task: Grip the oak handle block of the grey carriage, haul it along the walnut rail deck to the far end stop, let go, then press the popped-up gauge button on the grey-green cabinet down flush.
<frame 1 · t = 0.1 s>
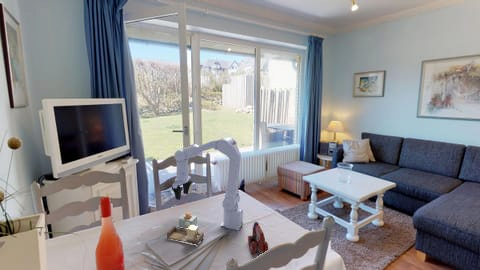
hand: (182, 196, 123), 10 cm above the table, fingers open, 7 cm apart
toy fire truck: (257, 248, 99), on the table
gauge button: (187, 216, 111), point 5 cm above the table, slide at 0.0 cm
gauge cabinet: (187, 226, 112), on the table
rail deck: (185, 239, 103), on the table
carriage: (192, 233, 100), point 4 cm above the table, slide at -4.0 cm
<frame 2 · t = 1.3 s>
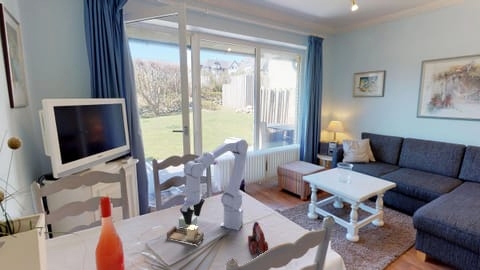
hand: (192, 219, 99), 10 cm above the table, fingers open, 7 cm apart
nothing on the table moved.
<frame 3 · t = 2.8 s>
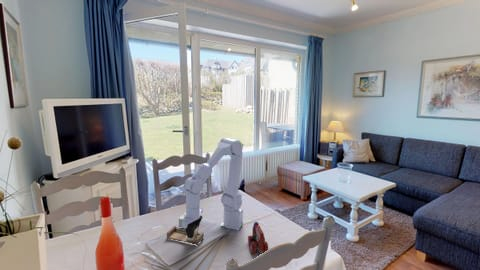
hand: (192, 234, 100), 3 cm above the table, fingers closed on carriage, 4 cm apart
carriage: (192, 233, 100), point 4 cm above the table, slide at -4.0 cm, touching gripper
everything else where it was.
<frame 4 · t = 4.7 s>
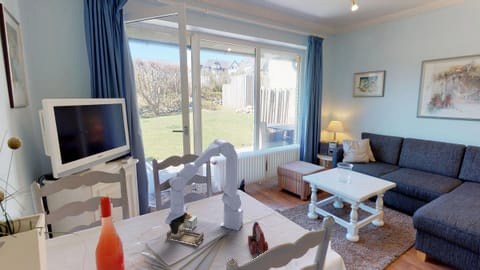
hand: (177, 231, 102), 3 cm above the table, fingers closed on carriage, 4 cm apart
carriage: (177, 229, 102), point 4 cm above the table, slide at 3.5 cm, touching gripper
everything else where it was.
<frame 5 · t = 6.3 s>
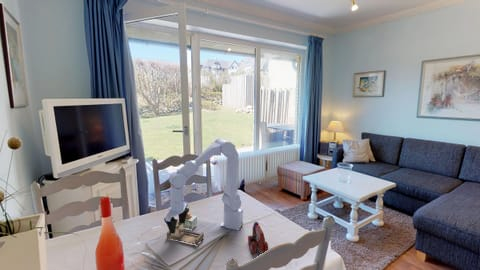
hand: (177, 228, 102), 5 cm above the table, fingers open, 7 cm apart
carriage: (177, 229, 102), point 4 cm above the table, slide at 3.5 cm
everything else where it was.
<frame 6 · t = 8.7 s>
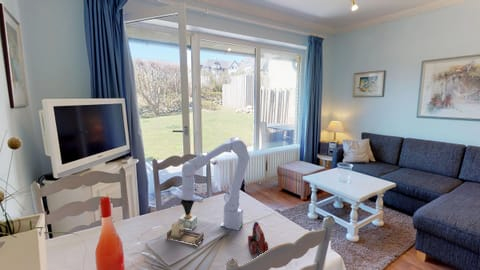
hand: (187, 213, 111), 7 cm above the table, fingers closed, pressing on gauge button
gauge button: (187, 216, 111), point 5 cm above the table, slide at -0.2 cm, touching gripper
everything else where it was.
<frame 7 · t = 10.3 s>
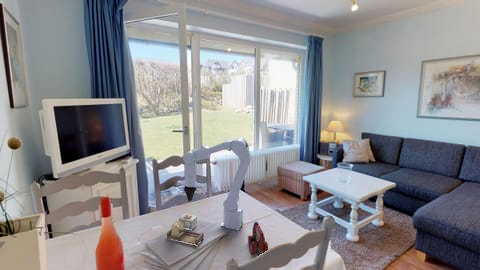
hand: (190, 200, 118), 10 cm above the table, fingers closed
gauge button: (187, 219, 112), point 4 cm above the table, slide at -1.6 cm
everything else where it was.
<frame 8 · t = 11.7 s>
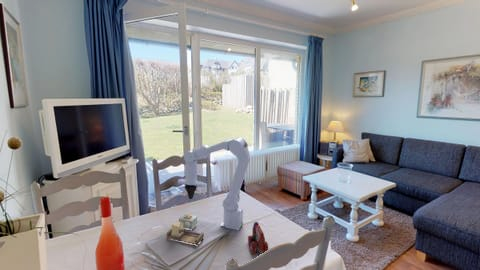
hand: (191, 198, 120), 10 cm above the table, fingers closed
nothing on the table moved.
at the end: carriage slide at 3.5 cm; gauge button slide at -1.6 cm; the gripper is holding nothing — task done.
